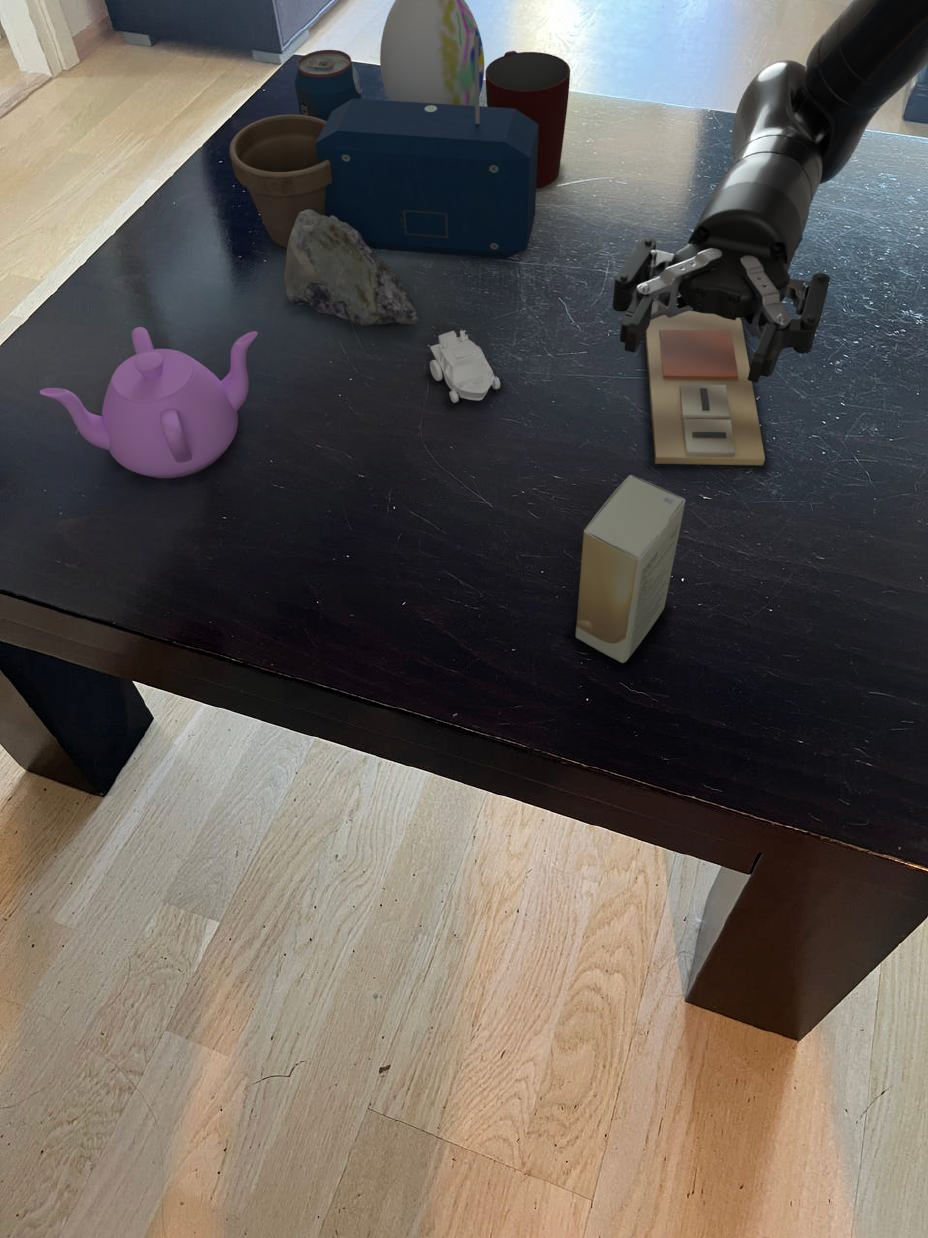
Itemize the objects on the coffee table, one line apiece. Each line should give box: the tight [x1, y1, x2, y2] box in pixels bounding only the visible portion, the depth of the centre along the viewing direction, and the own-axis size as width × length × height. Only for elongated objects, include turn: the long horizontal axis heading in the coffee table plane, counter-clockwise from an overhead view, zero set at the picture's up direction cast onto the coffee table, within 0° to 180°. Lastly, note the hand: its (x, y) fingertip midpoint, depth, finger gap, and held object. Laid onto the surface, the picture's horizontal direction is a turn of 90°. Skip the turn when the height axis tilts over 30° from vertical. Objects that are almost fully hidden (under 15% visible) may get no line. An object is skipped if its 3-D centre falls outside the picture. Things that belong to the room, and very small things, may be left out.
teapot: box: [39, 326, 258, 479], centre depth 83 cm, size 12×14×9 cm
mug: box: [484, 50, 571, 189], centre depth 107 cm, size 12×9×11 cm
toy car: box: [429, 329, 501, 404], centre depth 87 cm, size 5×8×4 cm, turn 26°
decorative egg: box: [379, 0, 485, 106], centre depth 113 cm, size 12×12×15 cm
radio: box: [315, 36, 539, 260], centre depth 95 cm, size 21×9×20 cm, turn 80°
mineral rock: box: [283, 209, 419, 327], centre depth 92 cm, size 13×11×10 cm
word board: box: [644, 310, 766, 466], centre depth 87 cm, size 20×9×1 cm, turn 176°
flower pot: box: [228, 114, 332, 249], centre depth 101 cm, size 12×11×10 cm
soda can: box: [294, 49, 363, 122], centre depth 107 cm, size 7×7×12 cm
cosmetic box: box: [575, 474, 687, 664], centre depth 67 cm, size 6×4×12 cm
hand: (691, 355), depth 65 cm, fingers open, 8 cm apart
